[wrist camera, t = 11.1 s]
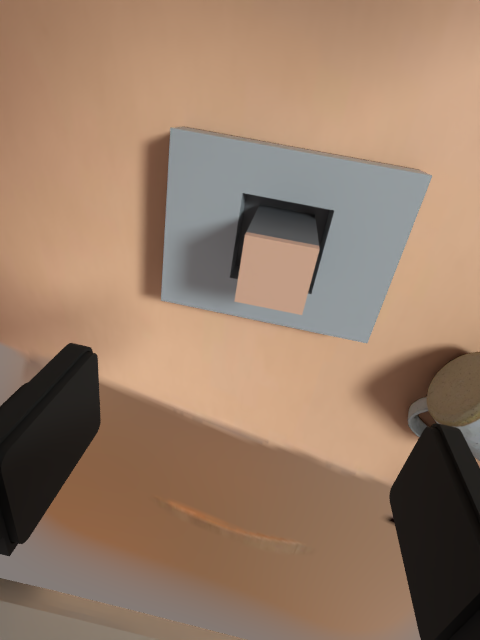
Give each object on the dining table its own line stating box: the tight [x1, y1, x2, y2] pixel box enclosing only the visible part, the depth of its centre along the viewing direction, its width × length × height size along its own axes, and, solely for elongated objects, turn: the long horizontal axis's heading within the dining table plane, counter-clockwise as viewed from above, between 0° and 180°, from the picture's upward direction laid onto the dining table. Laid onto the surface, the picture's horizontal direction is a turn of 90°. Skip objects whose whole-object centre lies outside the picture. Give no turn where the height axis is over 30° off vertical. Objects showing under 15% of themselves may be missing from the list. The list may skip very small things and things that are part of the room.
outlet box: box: [161, 127, 432, 343], centre depth 27 cm, size 16×12×3 cm
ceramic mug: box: [408, 352, 480, 461], centre depth 29 cm, size 10×8×7 cm
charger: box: [234, 204, 320, 315], centre depth 24 cm, size 4×4×8 cm
